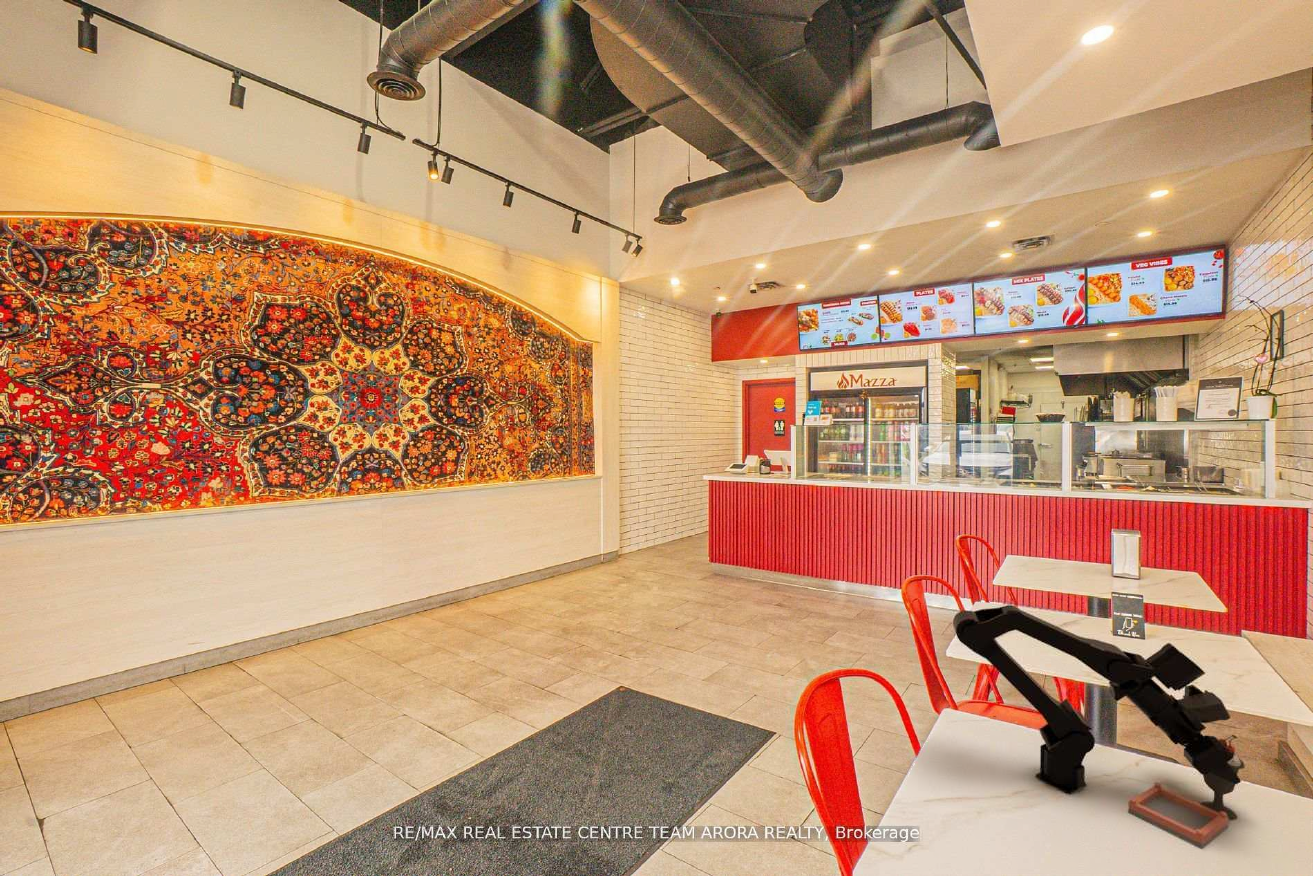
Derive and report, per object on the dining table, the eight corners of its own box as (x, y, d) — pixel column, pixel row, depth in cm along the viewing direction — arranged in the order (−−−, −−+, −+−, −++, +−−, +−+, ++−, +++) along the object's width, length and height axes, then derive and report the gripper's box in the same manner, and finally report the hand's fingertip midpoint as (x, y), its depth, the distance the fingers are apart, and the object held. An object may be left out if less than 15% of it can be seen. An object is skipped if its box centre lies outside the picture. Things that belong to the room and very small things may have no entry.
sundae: (1254, 825, 105) (1255, 742, 105) (1210, 820, 107) (1211, 739, 106) (1226, 802, 112) (1227, 724, 112) (1185, 797, 113) (1186, 721, 113)
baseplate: (1128, 812, 109) (1128, 798, 109) (1155, 794, 114) (1155, 781, 114) (1202, 848, 100) (1202, 833, 100) (1228, 827, 105) (1228, 813, 105)
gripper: (1219, 700, 102) (1303, 777, 98) (1171, 659, 119) (1241, 723, 115) (1162, 737, 105) (1241, 812, 101) (1123, 691, 122) (1189, 755, 118)
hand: (1228, 772), depth 109 cm, fingers closed on sundae, 6 cm apart
